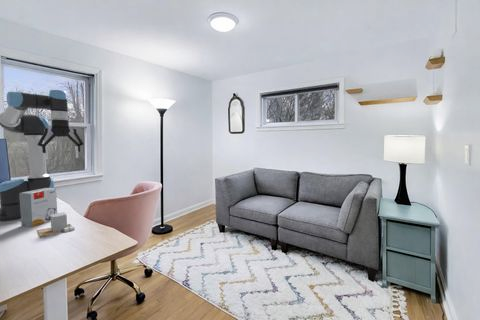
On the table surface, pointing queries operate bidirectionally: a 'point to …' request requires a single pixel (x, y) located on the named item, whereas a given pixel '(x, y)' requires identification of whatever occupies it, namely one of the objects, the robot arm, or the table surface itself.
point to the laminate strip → (68, 227)
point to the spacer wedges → (68, 229)
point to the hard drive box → (37, 206)
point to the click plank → (46, 232)
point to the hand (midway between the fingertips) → (62, 158)
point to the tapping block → (58, 222)
